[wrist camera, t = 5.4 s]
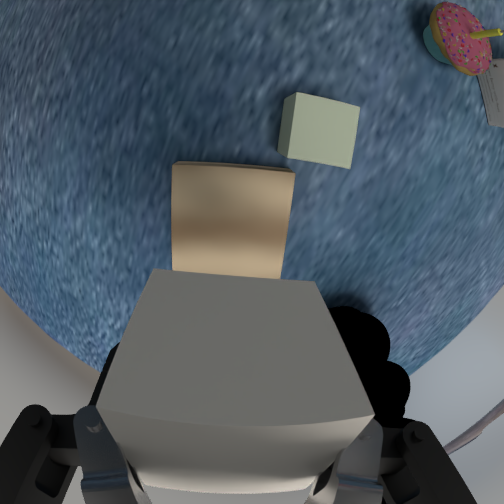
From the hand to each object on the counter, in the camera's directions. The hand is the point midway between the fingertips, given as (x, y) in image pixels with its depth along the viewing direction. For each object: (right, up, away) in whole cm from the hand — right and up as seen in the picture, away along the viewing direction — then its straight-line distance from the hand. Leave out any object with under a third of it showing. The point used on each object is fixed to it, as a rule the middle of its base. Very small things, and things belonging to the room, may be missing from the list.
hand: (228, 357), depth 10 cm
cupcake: (+22, +27, +8) cm, 36 cm away
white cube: (0, 0, +1) cm, 1 cm away
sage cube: (+6, +15, +13) cm, 21 cm away
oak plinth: (-1, +7, +16) cm, 18 cm away
